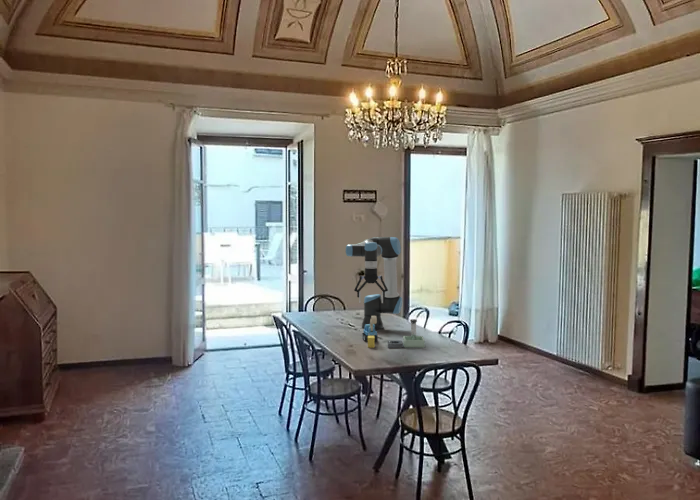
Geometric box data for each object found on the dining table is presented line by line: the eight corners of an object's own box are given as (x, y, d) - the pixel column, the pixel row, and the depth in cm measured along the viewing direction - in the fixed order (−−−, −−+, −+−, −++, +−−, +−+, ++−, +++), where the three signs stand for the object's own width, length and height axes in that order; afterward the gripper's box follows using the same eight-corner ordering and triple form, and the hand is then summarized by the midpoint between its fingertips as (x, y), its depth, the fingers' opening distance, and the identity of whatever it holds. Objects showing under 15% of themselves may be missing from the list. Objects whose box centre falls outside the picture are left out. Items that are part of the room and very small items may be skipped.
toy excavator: (367, 344, 368) (367, 316, 367) (361, 338, 384) (361, 312, 383) (380, 343, 370) (380, 316, 368) (374, 337, 386) (374, 311, 385)
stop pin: (410, 343, 365) (410, 319, 364) (416, 343, 365) (416, 319, 364) (410, 344, 362) (410, 320, 361) (417, 344, 361) (417, 320, 360)
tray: (403, 343, 370) (403, 336, 369) (422, 343, 369) (422, 336, 369) (404, 347, 358) (404, 340, 357) (424, 347, 357) (424, 340, 357)
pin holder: (387, 344, 366) (387, 340, 366) (401, 344, 366) (401, 340, 366) (388, 347, 357) (388, 343, 357) (402, 347, 357) (402, 343, 357)
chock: (367, 347, 359) (367, 337, 358) (367, 345, 365) (367, 335, 364) (374, 347, 359) (374, 337, 358) (374, 345, 365) (374, 335, 364)
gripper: (350, 268, 355) (350, 303, 357) (391, 268, 355) (392, 303, 356) (350, 267, 363) (350, 301, 364) (391, 267, 362) (391, 301, 364)
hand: (371, 302), depth 360 cm, fingers open, 13 cm apart
